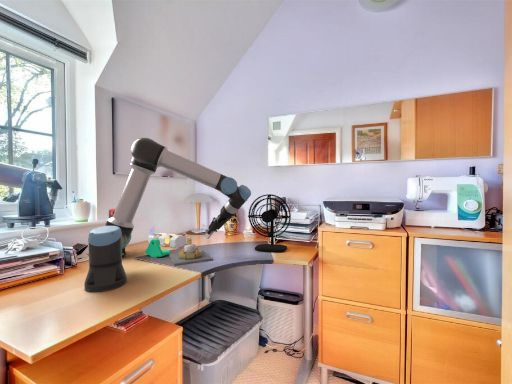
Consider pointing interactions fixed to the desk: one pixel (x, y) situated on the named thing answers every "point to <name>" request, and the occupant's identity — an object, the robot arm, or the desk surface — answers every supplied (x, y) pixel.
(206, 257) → the cap base
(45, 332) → the desk surface
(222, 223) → the robot arm
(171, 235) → the diorama
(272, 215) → the desk fan
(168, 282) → the desk surface
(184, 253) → the olive castle ruin model
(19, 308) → the desk surface
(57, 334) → the desk surface
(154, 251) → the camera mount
